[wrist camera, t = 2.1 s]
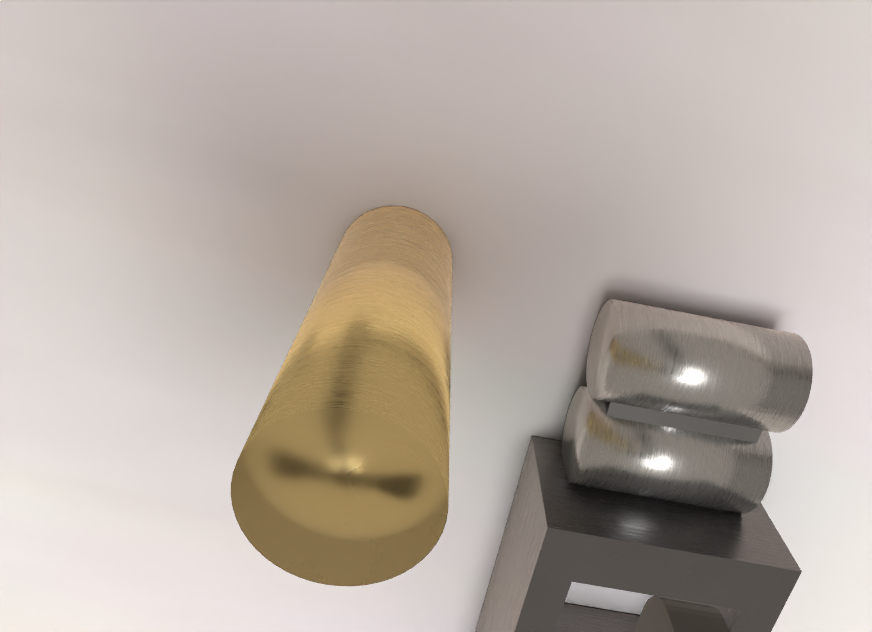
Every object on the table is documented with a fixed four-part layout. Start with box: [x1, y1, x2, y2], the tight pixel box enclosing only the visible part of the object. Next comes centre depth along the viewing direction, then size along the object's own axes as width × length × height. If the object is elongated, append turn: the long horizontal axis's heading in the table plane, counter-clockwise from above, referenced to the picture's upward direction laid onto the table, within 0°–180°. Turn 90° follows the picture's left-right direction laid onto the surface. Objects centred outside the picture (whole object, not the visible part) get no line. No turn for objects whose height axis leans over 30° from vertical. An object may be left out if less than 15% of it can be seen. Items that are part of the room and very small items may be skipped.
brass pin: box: [231, 206, 452, 586], centre depth 15 cm, size 3×3×10 cm
